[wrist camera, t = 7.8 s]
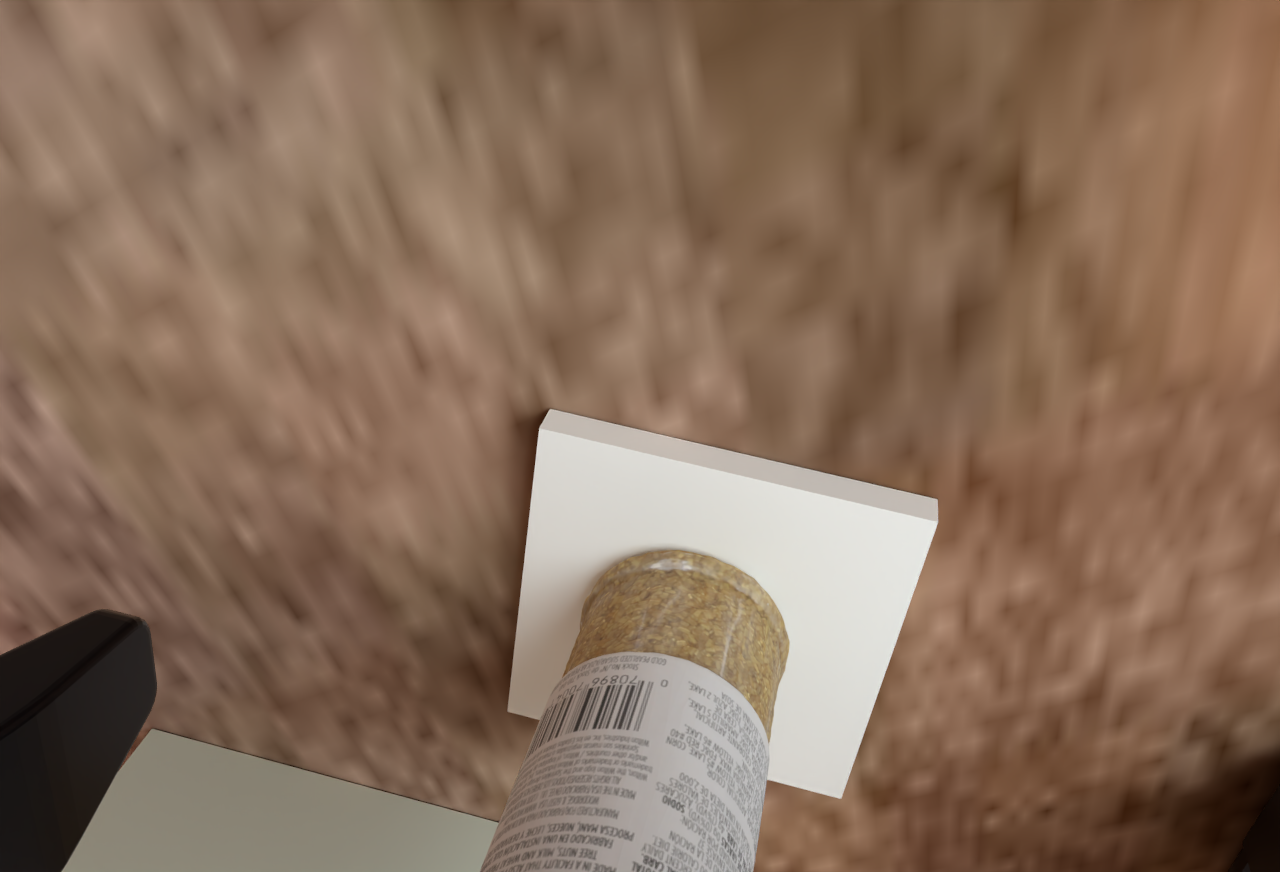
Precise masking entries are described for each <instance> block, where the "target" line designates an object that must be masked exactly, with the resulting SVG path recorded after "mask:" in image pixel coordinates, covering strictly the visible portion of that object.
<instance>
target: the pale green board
mask: <svg viewBox="0 0 1280 872" xmlns="http://www.w3.org/2000/svg"><path fill="white" fill-rule="evenodd" d="M498 824H499V823H498V822H494V821H490V820H487V819H483V818H479V817H476V816H472V815H468V814H465V813H461V812H457V811H454V810H450V809H446V808H443V807H439V806H435V805H431V804H428V803H424V802H420V801H417V800H413V799H409V798H406V797H402V796H398V795H395V794H391V793H387V792H384V791H380V790H376V789H373V788H369V787H365V786H362V785H358V784H354V783H350V782H347V781H343V780H339V779H336V778H332V777H328V776H325V775H321V774H317V773H314V772H310V771H306V770H303V769H299V768H295V767H292V766H288V765H284V764H281V763H277V762H273V761H269V760H266V759H262V758H258V757H255V756H251V755H247V754H244V753H240V752H236V751H233V750H229V749H225V748H222V747H218V746H214V745H211V744H207V743H203V742H200V741H196V740H192V739H188V738H185V737H181V736H177V735H174V734H170V733H166V732H163V731H159V730H155V729H151V730H150V732H149V733H148V734H147V735H146V737H145V738H144V739H143V741H142V742H141V743H140V744H139V746H138V747H137V748H136V750H135V751H134V752H133V753H132V755H131V756H130V757H129V759H128V760H127V761H126V762H125V764H124V765H123V766H122V767H121V769H120V770H119V771H118V773H117V774H116V776H115V778H114V780H113V781H112V783H111V785H110V787H109V789H108V791H107V793H106V794H105V796H104V798H103V800H102V802H101V804H100V805H99V807H98V809H97V811H96V813H95V815H94V816H93V818H92V820H91V822H90V824H89V826H88V827H87V829H86V831H85V833H84V835H83V837H82V838H81V840H80V842H79V844H78V845H77V847H76V849H75V851H74V852H73V854H72V856H71V857H70V859H69V861H68V863H67V864H66V866H65V867H64V869H63V870H62V872H480V869H481V867H482V864H483V862H484V859H485V857H486V854H487V852H488V849H489V847H490V844H491V842H492V839H493V837H494V834H495V831H496V829H497V826H498Z"/></svg>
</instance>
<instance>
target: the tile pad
mask: <svg viewBox="0 0 1280 872" xmlns="http://www.w3.org/2000/svg"><path fill="white" fill-rule="evenodd" d="M937 524H938V499H934V498H930V497H926V496H921V495H917V494H913V493H908V492H904V491H900V490H896V489H891V488H887V487H883V486H878V485H874V484H870V483H866V482H861V481H857V480H853V479H848V478H844V477H840V476H836V475H831V474H827V473H823V472H819V471H814V470H810V469H806V468H801V467H797V466H793V465H789V464H784V463H780V462H776V461H771V460H767V459H763V458H759V457H754V456H750V455H746V454H741V453H737V452H733V451H729V450H724V449H720V448H716V447H711V446H707V445H703V444H699V443H694V442H690V441H686V440H682V439H677V438H673V437H669V436H664V435H660V434H656V433H652V432H647V431H643V430H639V429H634V428H630V427H626V426H622V425H617V424H613V423H609V422H604V421H600V420H596V419H592V418H587V417H583V416H579V415H574V414H570V413H566V412H562V411H557V410H553V409H550V410H549V411H548V413H547V415H546V417H545V419H544V420H543V422H542V424H541V426H540V428H539V434H538V443H537V452H536V461H535V470H534V479H533V487H532V496H531V505H530V514H529V523H528V532H527V541H526V550H525V559H524V568H523V576H522V585H521V594H520V603H519V612H518V621H517V630H516V639H515V648H514V656H513V665H512V674H511V683H510V692H509V701H508V710H507V712H511V713H515V714H518V715H522V716H526V717H530V718H534V719H538V720H540V718H541V716H542V713H543V711H544V708H545V706H546V704H547V701H548V699H549V696H550V695H551V693H552V691H553V689H554V687H555V686H556V684H557V683H558V682H559V681H560V679H562V676H563V674H564V671H565V669H566V665H567V662H568V661H569V658H570V655H571V651H572V649H573V647H574V645H575V642H576V639H577V636H578V634H579V632H580V620H581V614H582V608H583V605H584V602H585V599H586V598H587V597H588V596H589V595H590V594H591V592H592V590H593V587H594V586H595V584H596V582H597V581H598V580H599V578H600V577H601V576H602V575H604V574H605V573H606V572H607V571H608V570H610V569H612V568H613V567H615V566H616V565H618V564H619V563H621V562H623V561H625V560H627V559H629V558H631V557H635V556H642V555H644V554H646V553H648V552H656V551H663V550H682V551H689V552H694V553H697V554H700V555H706V556H711V557H714V558H716V559H718V560H720V561H722V562H724V563H727V564H730V565H732V566H735V567H736V568H738V569H740V570H741V571H743V572H745V573H746V574H748V575H749V576H751V577H753V578H755V580H756V581H757V582H758V583H759V585H760V586H761V587H762V588H763V589H764V590H765V591H766V592H767V593H768V594H769V595H770V597H771V598H772V600H773V601H774V602H775V604H776V606H777V608H778V609H779V611H780V613H781V615H782V618H783V620H784V623H785V628H786V631H787V634H788V638H789V641H790V645H789V653H788V658H787V662H786V668H785V672H784V674H783V676H782V678H781V681H780V683H779V686H778V691H777V698H776V701H775V705H774V717H773V722H772V727H771V737H770V742H769V755H770V760H769V769H768V776H767V780H771V781H775V782H779V783H782V784H786V785H790V786H794V787H798V788H801V789H805V790H809V791H813V792H817V793H821V794H824V795H828V796H832V797H836V798H840V799H841V798H842V795H843V792H844V789H845V786H846V783H847V781H848V778H849V775H850V772H851V769H852V766H853V763H854V761H855V758H856V755H857V752H858V749H859V746H860V743H861V741H862V738H863V735H864V732H865V729H866V726H867V724H868V721H869V718H870V715H871V712H872V709H873V706H874V704H875V701H876V698H877V695H878V692H879V689H880V686H881V684H882V681H883V678H884V675H885V672H886V669H887V667H888V664H889V661H890V658H891V655H892V652H893V649H894V647H895V644H896V641H897V638H898V635H899V632H900V629H901V627H902V624H903V621H904V618H905V615H906V612H907V610H908V607H909V604H910V601H911V598H912V595H913V592H914V590H915V587H916V584H917V581H918V578H919V575H920V573H921V570H922V567H923V564H924V561H925V558H926V555H927V553H928V550H929V547H930V544H931V541H932V538H933V535H934V533H935V530H936V527H937Z"/></svg>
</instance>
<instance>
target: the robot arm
mask: <svg viewBox="0 0 1280 872" xmlns="http://www.w3.org/2000/svg"><path fill="white" fill-rule="evenodd" d="M156 691H157V680H156V672H155V664H154V656H153V648H152V640H151V633H150V628H149V626H148V624H147V623H146V621H145V620H144V619H141V618H140V617H136V616H132V615H128V614H124V613H121V612H117V611H113V610H108V609H101V610H96V611H93V612H91V613H88V614H86V615H84V616H82V617H80V618H78V619H76V620H74V621H72V622H69V623H67V624H65V625H63V626H61V627H59V628H57V629H55V630H52V631H50V632H48V633H46V634H44V635H42V636H40V637H38V638H36V639H33V640H31V641H29V642H27V643H25V644H23V645H21V646H19V647H17V648H14V649H12V650H10V651H8V652H6V653H4V654H2V655H0V872H62V870H63V869H64V867H65V866H66V864H67V863H68V861H69V859H70V857H71V856H72V854H73V852H74V851H75V849H76V847H77V845H78V844H79V842H80V840H81V838H82V837H83V835H84V833H85V831H86V829H87V827H88V826H89V824H90V822H91V820H92V818H93V816H94V815H95V813H96V811H97V809H98V807H99V805H100V804H101V802H102V800H103V798H104V796H105V794H106V793H107V791H108V789H109V787H110V785H111V783H112V781H113V780H114V778H115V776H116V774H117V772H118V770H119V769H120V767H121V765H122V763H123V761H124V759H125V758H126V756H127V754H128V752H129V750H130V748H131V747H132V745H133V743H134V741H135V739H136V737H137V736H138V734H139V732H140V730H141V728H142V726H143V725H144V723H145V721H146V719H147V717H148V715H149V713H150V711H151V709H152V707H153V704H154V701H155V697H156ZM1228 872H1280V785H1279V786H1278V788H1277V789H1276V791H1275V792H1274V794H1273V795H1272V797H1271V799H1270V800H1269V802H1268V803H1267V805H1266V806H1265V808H1264V809H1263V811H1262V812H1261V814H1260V815H1259V817H1258V819H1257V820H1256V822H1255V823H1254V825H1253V826H1252V828H1251V829H1250V831H1249V832H1248V834H1247V836H1246V837H1245V839H1244V840H1243V849H1242V851H1241V852H1240V854H1239V855H1238V857H1237V859H1236V860H1235V862H1234V863H1233V865H1232V866H1231V868H1230V869H1229V871H1228Z"/></svg>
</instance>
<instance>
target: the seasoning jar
mask: <svg viewBox="0 0 1280 872" xmlns="http://www.w3.org/2000/svg"><path fill="white" fill-rule="evenodd" d="M789 645H790V641H789V638H788V634H787V631H786V628H785V623H784V620H783V618H782V615H781V613H780V611H779V609H778V608H777V606H776V604H775V602H774V601H773V600H772V598H771V597H770V595H769V594H768V593H767V592H766V591H765V590H764V589H763V588H762V587H761V586H760V585H759V583H758V582H757V581H756V580H755V578H753V577H751V576H749V575H748V574H746V573H745V572H743V571H741V570H740V569H738V568H736V567H735V566H732V565H730V564H727V563H724V562H722V561H720V560H718V559H716V558H714V557H711V556H706V555H700V554H697V553H694V552H689V551H682V550H663V551H656V552H648V553H646V554H644V555H642V556H635V557H631V558H629V559H627V560H625V561H623V562H621V563H619V564H618V565H616V566H615V567H613V568H612V569H610V570H608V571H607V572H606V573H605V574H604V575H602V576H601V577H600V578H599V580H598V581H597V582H596V584H595V586H594V587H593V590H592V592H591V594H590V595H589V596H588V597H587V598H586V599H585V602H584V605H583V608H582V614H581V620H580V632H579V634H578V636H577V639H576V642H575V645H574V647H573V649H572V651H571V655H570V658H569V661H568V662H567V665H566V669H565V671H564V674H563V676H562V679H560V681H559V682H558V683H557V684H556V686H555V687H554V689H553V691H552V693H551V695H550V696H549V699H548V701H547V704H546V706H545V708H544V711H543V713H542V716H541V718H540V721H539V723H538V726H537V728H536V731H535V733H534V736H533V738H532V741H531V743H530V746H529V748H528V751H527V753H526V756H525V758H524V761H523V763H522V766H521V768H520V770H519V773H518V775H517V778H516V780H515V783H514V786H513V788H512V791H511V793H510V796H509V798H508V801H507V803H506V806H505V808H504V811H503V814H502V816H501V819H500V821H499V824H498V826H497V829H496V831H495V834H494V837H493V839H492V842H491V844H490V847H489V849H488V852H487V854H486V857H485V859H484V862H483V864H482V867H481V869H480V872H753V869H754V863H755V856H756V850H757V844H758V838H759V831H760V823H761V816H762V810H763V803H764V797H765V789H766V782H767V776H768V769H769V760H770V755H769V742H770V737H771V727H772V722H773V717H774V705H775V701H776V698H777V691H778V686H779V683H780V681H781V678H782V676H783V674H784V672H785V668H786V662H787V658H788V653H789Z"/></svg>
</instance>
